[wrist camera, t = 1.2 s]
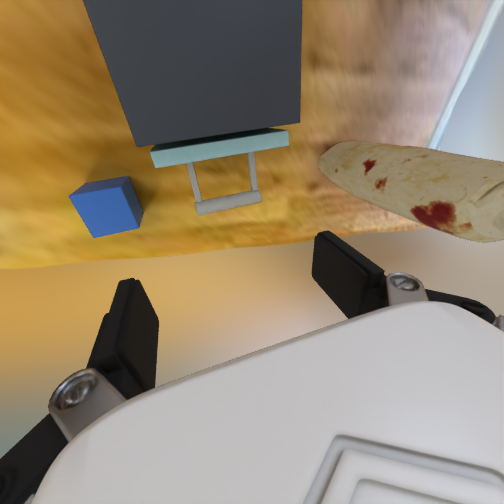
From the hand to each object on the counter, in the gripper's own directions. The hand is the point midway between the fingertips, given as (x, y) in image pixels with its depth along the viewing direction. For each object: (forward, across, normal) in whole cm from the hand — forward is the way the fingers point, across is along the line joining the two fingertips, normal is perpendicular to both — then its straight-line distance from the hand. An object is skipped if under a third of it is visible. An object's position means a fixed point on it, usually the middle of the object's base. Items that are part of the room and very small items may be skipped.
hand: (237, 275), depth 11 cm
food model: (+19, -20, 0) cm, 28 cm away
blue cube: (+19, +10, 0) cm, 21 cm away
